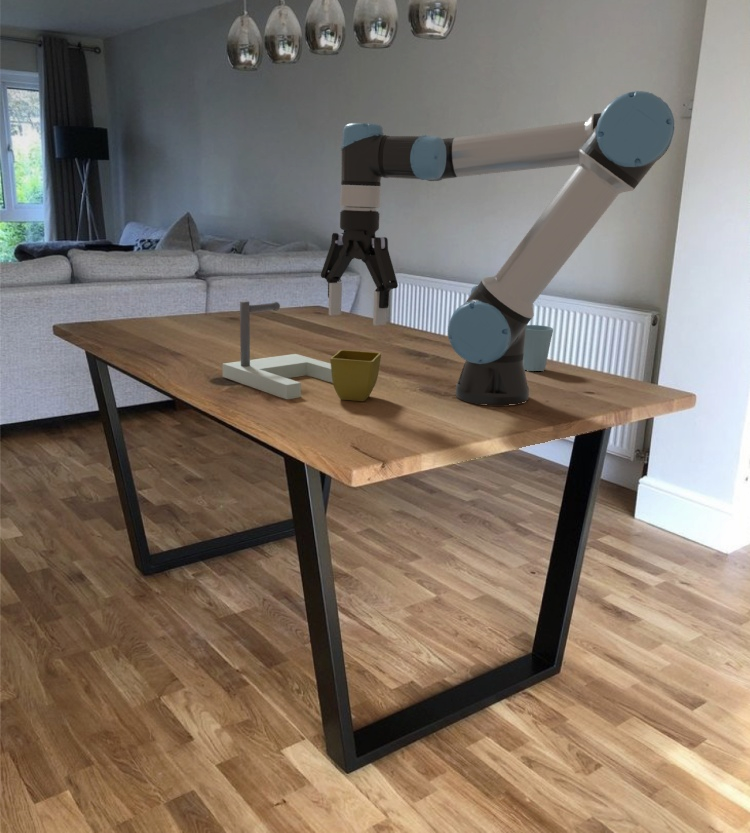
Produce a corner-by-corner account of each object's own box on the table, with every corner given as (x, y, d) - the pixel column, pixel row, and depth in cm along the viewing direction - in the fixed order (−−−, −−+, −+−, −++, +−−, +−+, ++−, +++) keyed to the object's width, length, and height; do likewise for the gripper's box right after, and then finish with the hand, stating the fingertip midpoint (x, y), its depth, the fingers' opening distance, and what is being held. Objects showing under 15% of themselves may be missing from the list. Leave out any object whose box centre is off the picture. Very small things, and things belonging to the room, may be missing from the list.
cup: (537, 374, 191) (541, 331, 188) (511, 369, 196) (514, 326, 193) (555, 370, 196) (559, 328, 193) (529, 365, 201) (532, 323, 198)
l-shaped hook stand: (361, 386, 174) (364, 307, 169) (286, 399, 161) (287, 315, 156) (295, 366, 191) (296, 294, 186) (222, 376, 178) (221, 300, 173)
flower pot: (371, 405, 159) (373, 360, 156) (328, 401, 160) (329, 357, 158) (380, 395, 167) (381, 352, 165) (339, 391, 169) (340, 349, 166)
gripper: (420, 212, 147) (414, 327, 153) (334, 206, 165) (331, 309, 171) (390, 212, 142) (385, 330, 148) (304, 206, 160) (303, 312, 166)
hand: (356, 319), depth 159 cm, fingers open, 13 cm apart
